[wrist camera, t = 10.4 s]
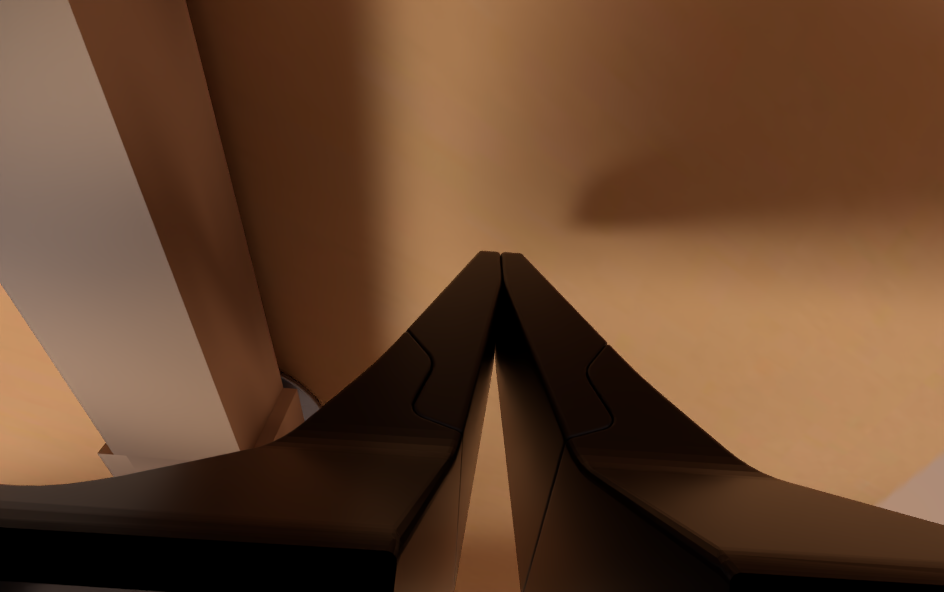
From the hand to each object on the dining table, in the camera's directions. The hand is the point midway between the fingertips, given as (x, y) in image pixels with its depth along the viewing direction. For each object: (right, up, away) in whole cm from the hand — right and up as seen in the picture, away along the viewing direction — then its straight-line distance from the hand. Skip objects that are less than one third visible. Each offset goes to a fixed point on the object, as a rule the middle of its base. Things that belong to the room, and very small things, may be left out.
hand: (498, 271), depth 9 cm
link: (-7, 0, +2) cm, 7 cm away
